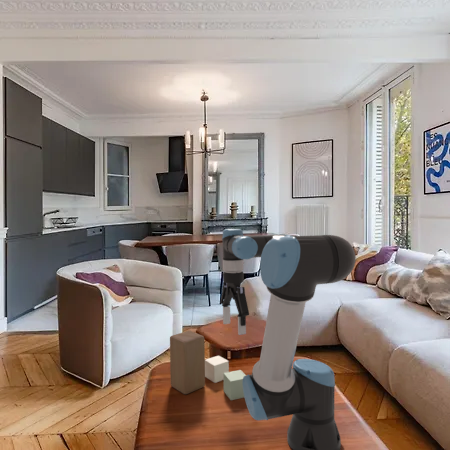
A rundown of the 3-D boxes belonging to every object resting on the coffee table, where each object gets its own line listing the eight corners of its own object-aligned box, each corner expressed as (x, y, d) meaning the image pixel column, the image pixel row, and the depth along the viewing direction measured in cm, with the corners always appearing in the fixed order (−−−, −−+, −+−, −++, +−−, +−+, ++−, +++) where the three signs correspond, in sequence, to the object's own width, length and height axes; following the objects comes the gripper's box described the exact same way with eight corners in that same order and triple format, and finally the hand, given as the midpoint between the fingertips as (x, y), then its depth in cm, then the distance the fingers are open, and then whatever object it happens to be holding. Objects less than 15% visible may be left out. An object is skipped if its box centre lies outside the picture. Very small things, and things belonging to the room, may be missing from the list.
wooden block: (190, 378, 146) (189, 329, 145) (206, 386, 138) (205, 335, 138) (169, 386, 139) (168, 335, 138) (185, 396, 132) (184, 342, 131)
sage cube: (248, 396, 131) (248, 377, 131) (230, 400, 129) (230, 381, 128) (240, 387, 138) (240, 369, 137) (223, 391, 135) (223, 373, 135)
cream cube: (228, 378, 146) (228, 361, 145) (214, 383, 141) (214, 365, 141) (218, 371, 151) (218, 355, 151) (204, 376, 147) (204, 359, 147)
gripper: (258, 275, 122) (259, 337, 122) (229, 266, 145) (229, 318, 145) (238, 277, 119) (239, 340, 119) (211, 267, 142) (212, 320, 142)
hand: (234, 328), depth 132 cm, fingers open, 13 cm apart
